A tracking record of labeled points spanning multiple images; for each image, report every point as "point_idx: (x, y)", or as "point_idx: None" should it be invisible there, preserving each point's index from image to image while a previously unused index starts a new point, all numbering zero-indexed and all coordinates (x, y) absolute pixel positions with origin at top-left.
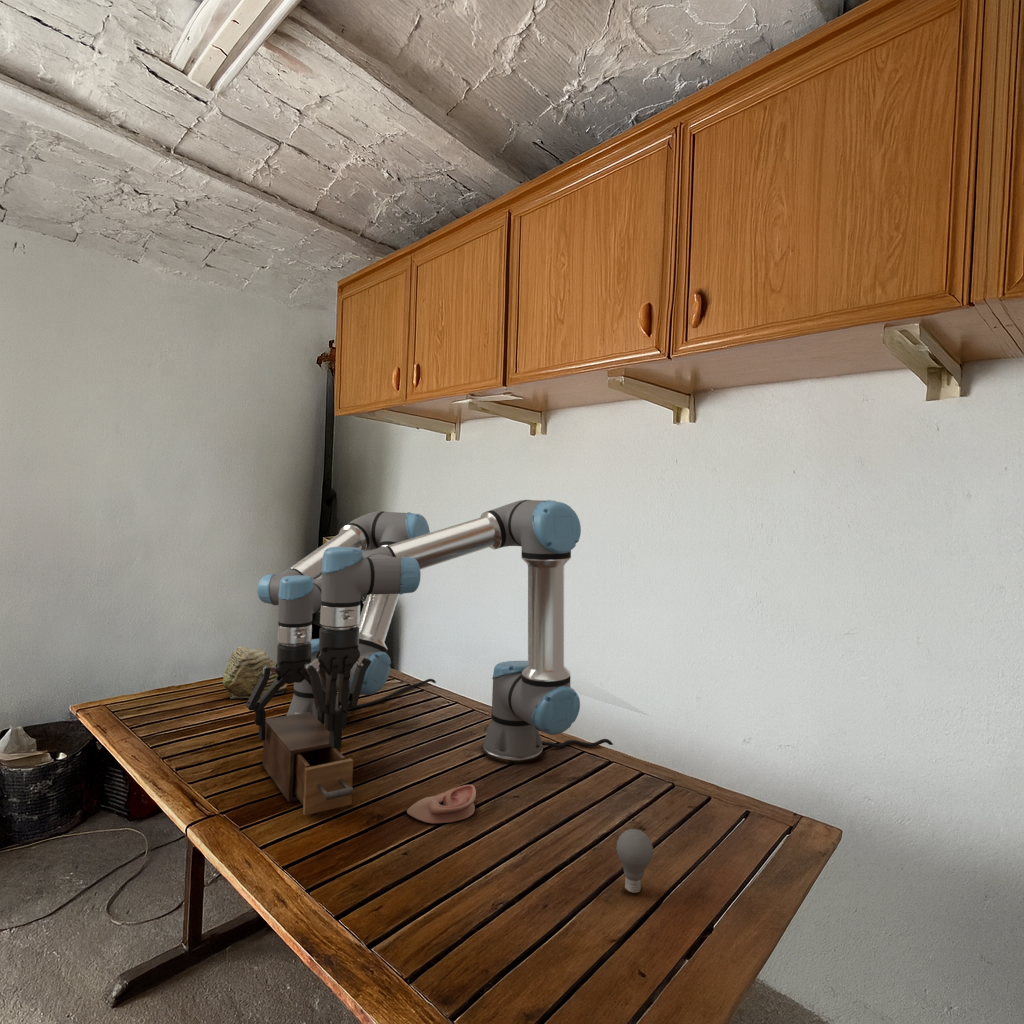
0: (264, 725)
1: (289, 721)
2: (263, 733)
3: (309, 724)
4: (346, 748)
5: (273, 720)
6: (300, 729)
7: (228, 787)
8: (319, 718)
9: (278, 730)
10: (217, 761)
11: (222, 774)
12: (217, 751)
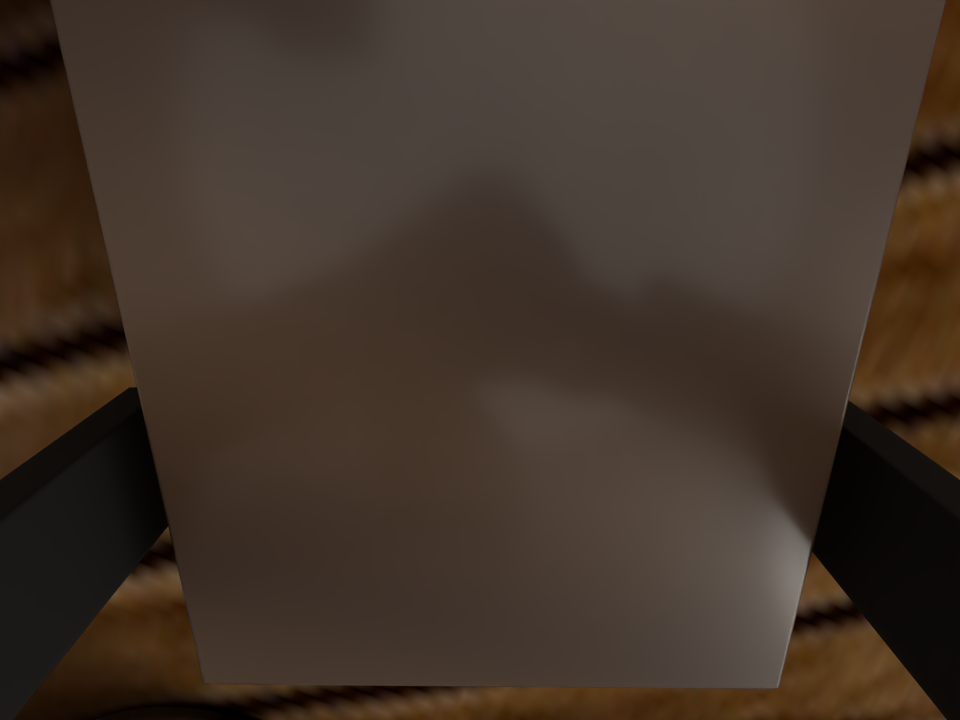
0: (915, 474)
1: (535, 496)
2: (858, 419)
3: (299, 245)
4: (70, 423)
5: (702, 612)
6: (498, 73)
7: (955, 193)
8: (119, 507)
9: (826, 210)
10: (831, 586)
11: (890, 408)
12: (775, 698)
